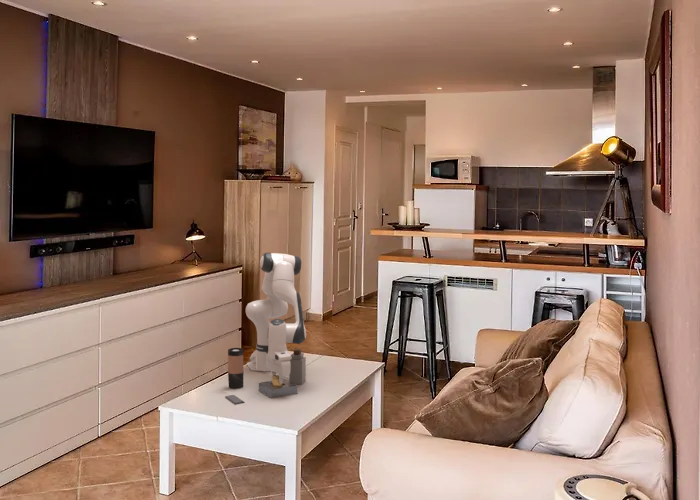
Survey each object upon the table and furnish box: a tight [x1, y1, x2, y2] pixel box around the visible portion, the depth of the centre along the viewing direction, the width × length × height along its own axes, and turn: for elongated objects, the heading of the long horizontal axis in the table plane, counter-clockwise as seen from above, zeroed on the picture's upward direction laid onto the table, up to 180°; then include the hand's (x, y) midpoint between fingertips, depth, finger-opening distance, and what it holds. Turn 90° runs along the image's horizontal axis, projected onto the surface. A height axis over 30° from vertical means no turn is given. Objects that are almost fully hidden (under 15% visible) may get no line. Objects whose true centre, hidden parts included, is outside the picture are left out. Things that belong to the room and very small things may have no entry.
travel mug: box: [227, 347, 245, 390], centre depth 334 cm, size 8×8×20 cm
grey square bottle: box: [288, 348, 307, 386], centre depth 343 cm, size 7×7×18 cm
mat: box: [224, 394, 246, 405], centre depth 319 cm, size 12×12×1 cm
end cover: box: [271, 374, 283, 386], centre depth 326 cm, size 5×5×8 cm
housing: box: [258, 378, 298, 399], centre depth 326 cm, size 14×14×5 cm
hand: (277, 381), depth 326 cm, fingers closed on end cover, 5 cm apart
